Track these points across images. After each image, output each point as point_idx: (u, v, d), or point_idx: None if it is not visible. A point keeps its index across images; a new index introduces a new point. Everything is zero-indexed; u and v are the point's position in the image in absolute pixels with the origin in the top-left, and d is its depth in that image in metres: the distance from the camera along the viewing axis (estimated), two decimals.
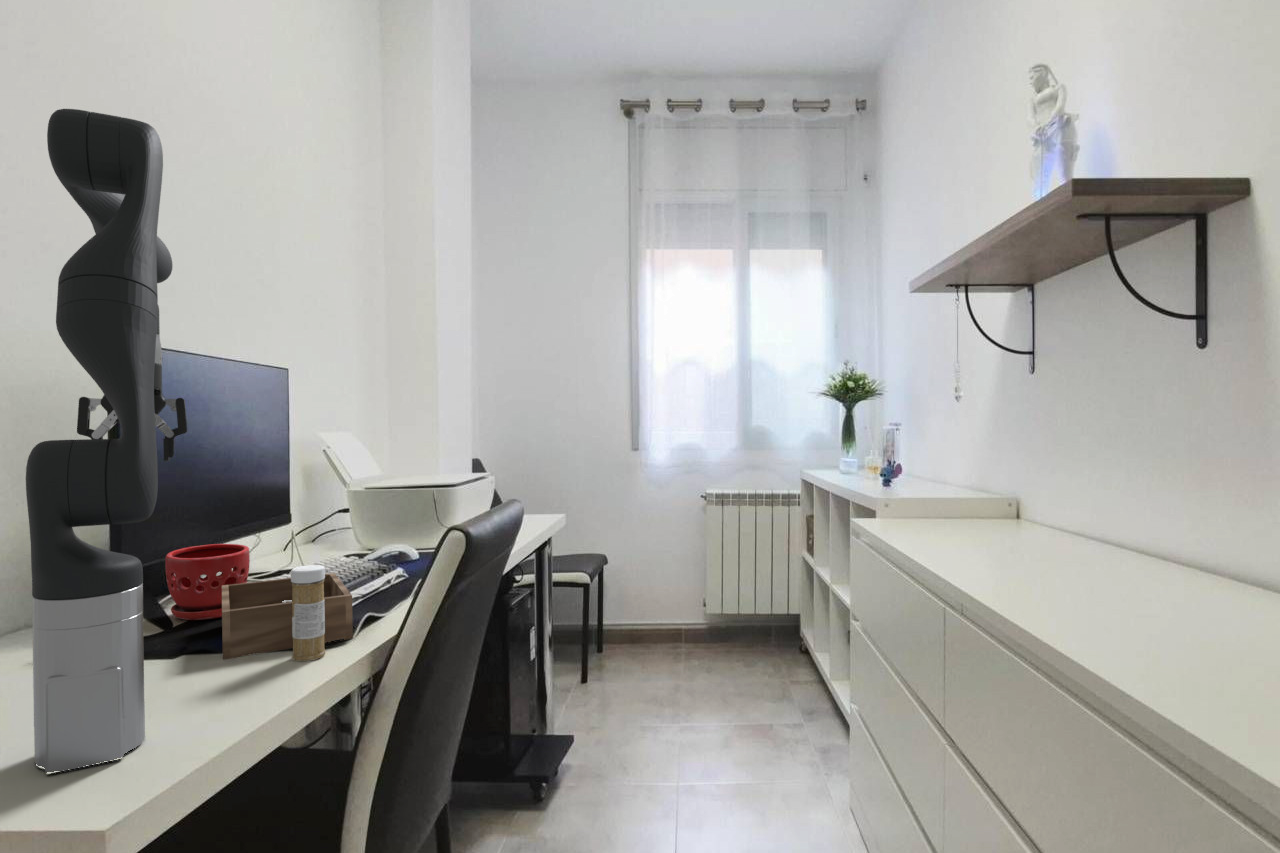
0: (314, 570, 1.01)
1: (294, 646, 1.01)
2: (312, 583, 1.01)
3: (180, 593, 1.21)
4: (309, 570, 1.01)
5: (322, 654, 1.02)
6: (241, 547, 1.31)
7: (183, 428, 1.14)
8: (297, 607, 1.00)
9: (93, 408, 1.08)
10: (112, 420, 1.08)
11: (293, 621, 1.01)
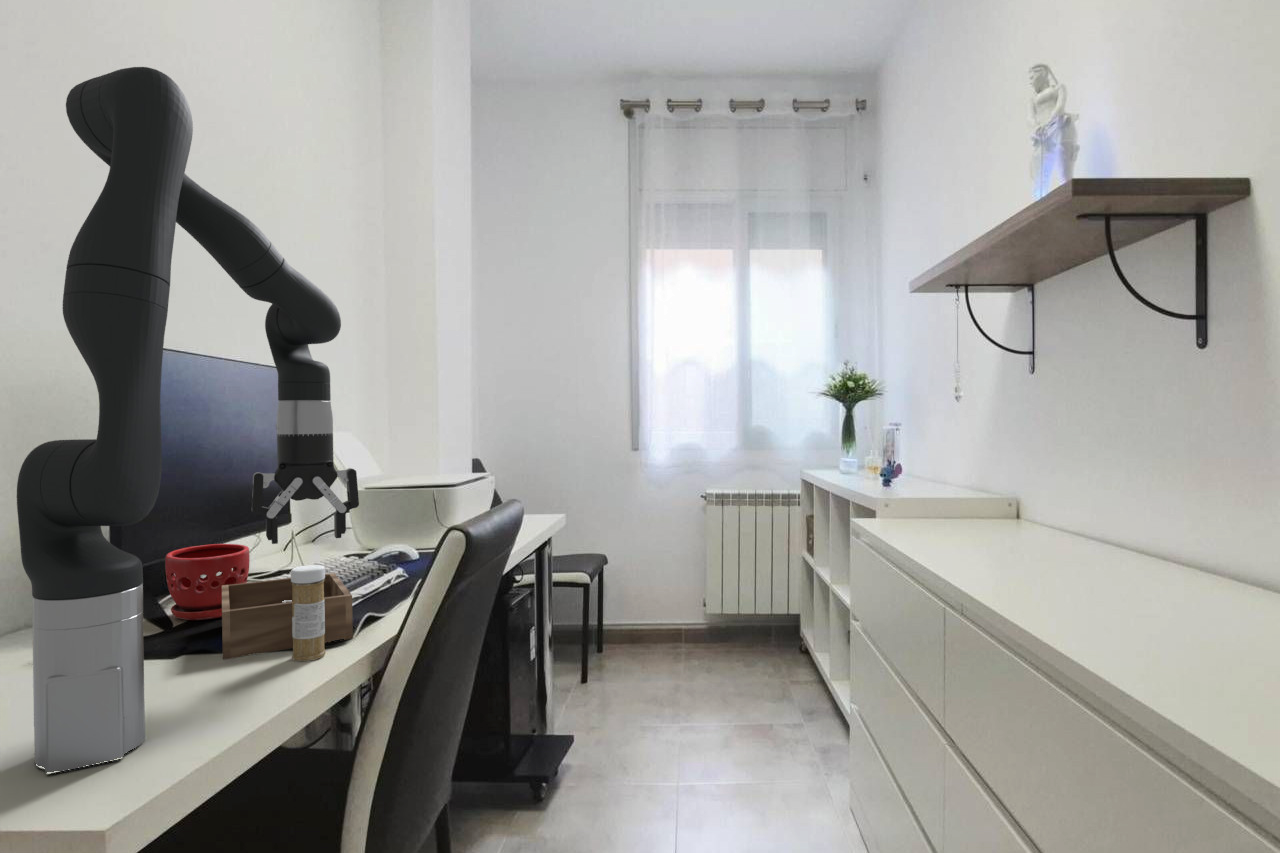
0: (314, 570, 1.01)
1: (294, 646, 1.01)
2: (312, 583, 1.01)
3: (180, 593, 1.21)
4: (309, 570, 1.01)
5: (322, 654, 1.02)
6: (241, 547, 1.31)
7: (355, 502, 1.05)
8: (297, 607, 1.00)
9: (267, 484, 0.99)
10: (287, 497, 1.00)
11: (293, 621, 1.01)
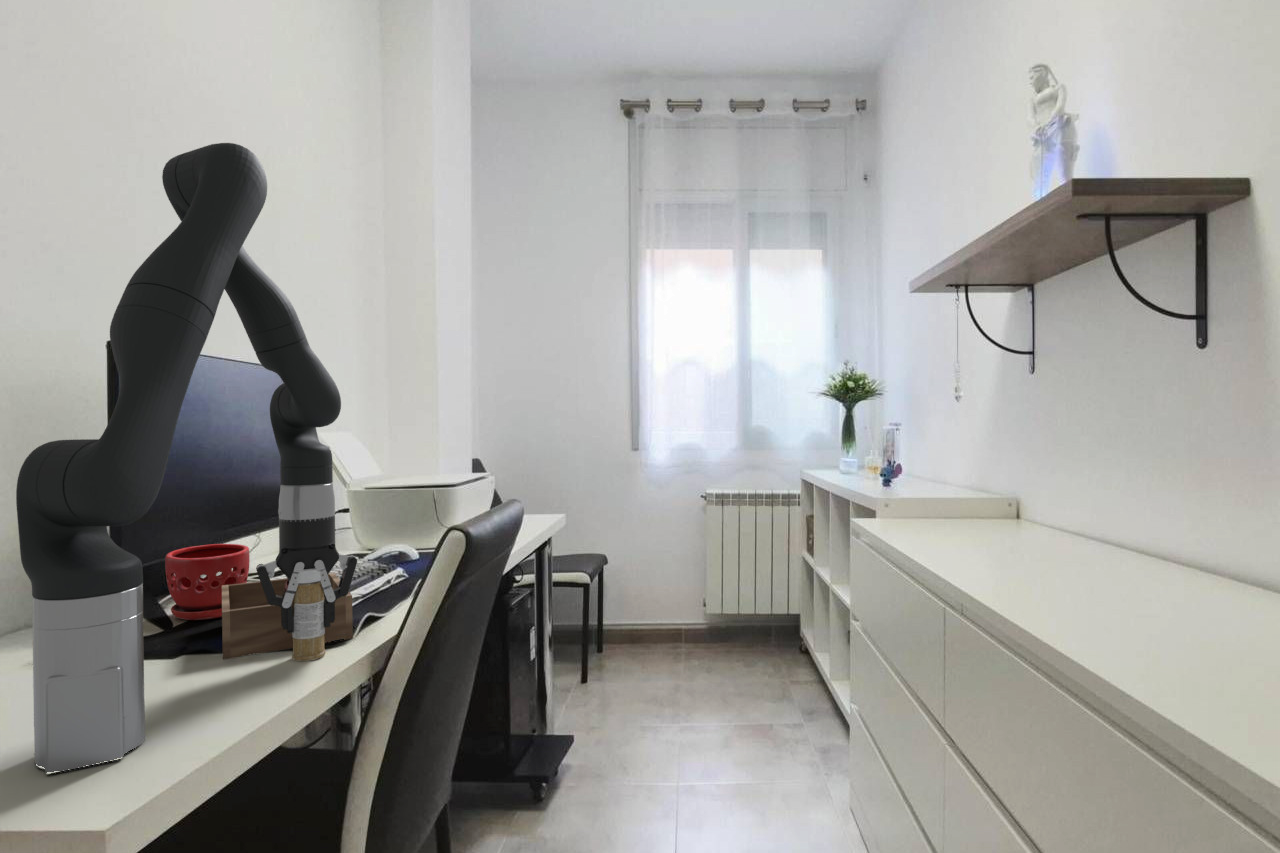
0: (314, 570, 1.01)
1: (294, 646, 1.01)
2: (312, 583, 1.01)
3: (180, 593, 1.21)
4: (309, 570, 1.01)
5: (322, 654, 1.02)
6: (241, 547, 1.31)
7: (345, 590, 1.04)
8: (296, 607, 1.00)
9: (272, 574, 1.00)
10: (295, 583, 1.00)
11: (293, 621, 1.01)
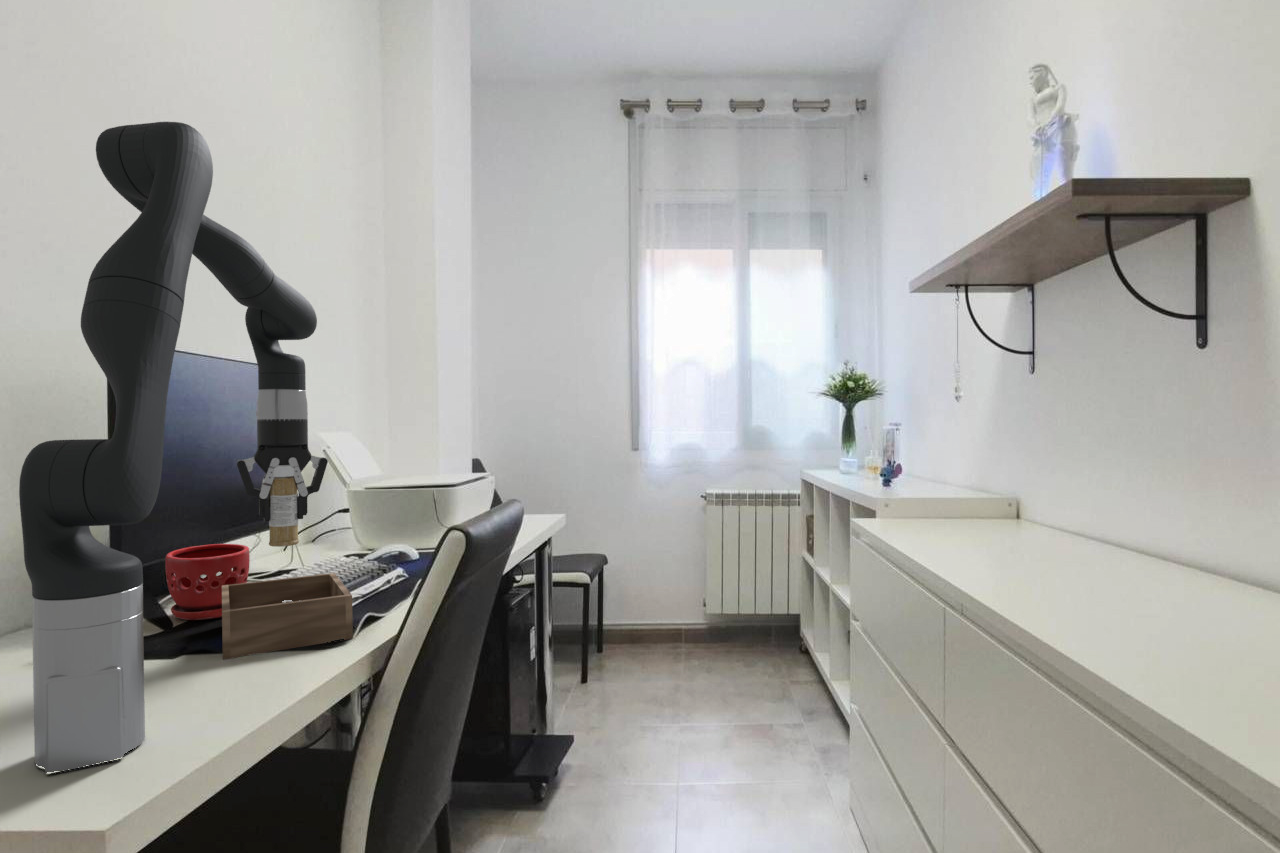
0: (288, 466, 1.13)
1: (270, 533, 1.13)
2: (286, 477, 1.13)
3: (180, 593, 1.21)
4: (283, 466, 1.13)
5: (295, 542, 1.15)
6: (241, 547, 1.31)
7: (317, 487, 1.16)
8: (272, 498, 1.13)
9: (251, 468, 1.12)
10: (271, 477, 1.12)
11: (269, 511, 1.13)
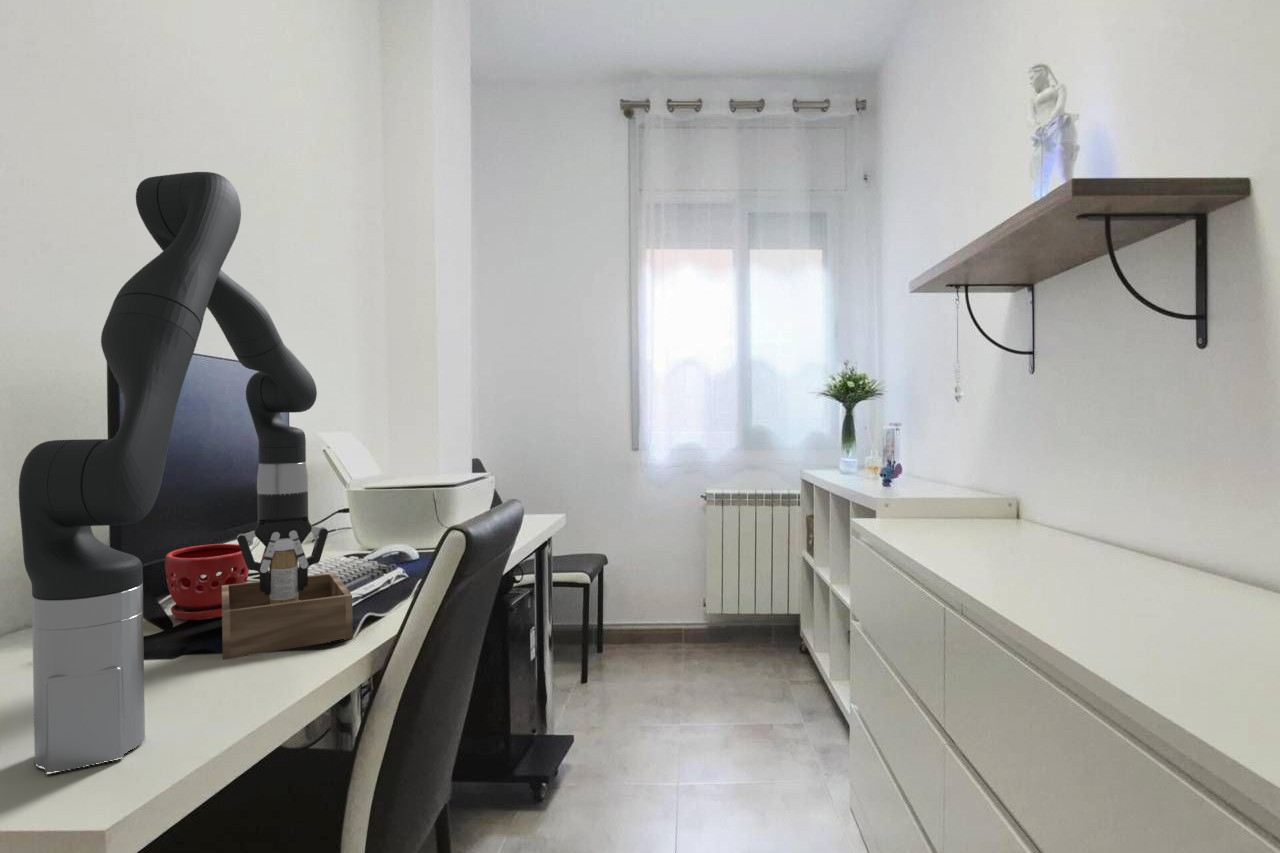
0: (288, 539, 1.14)
1: None
2: (287, 551, 1.13)
3: (180, 593, 1.21)
4: (284, 539, 1.13)
5: None
6: None
7: (317, 558, 1.17)
8: (273, 572, 1.13)
9: (251, 542, 1.12)
10: (272, 551, 1.13)
11: (270, 584, 1.13)
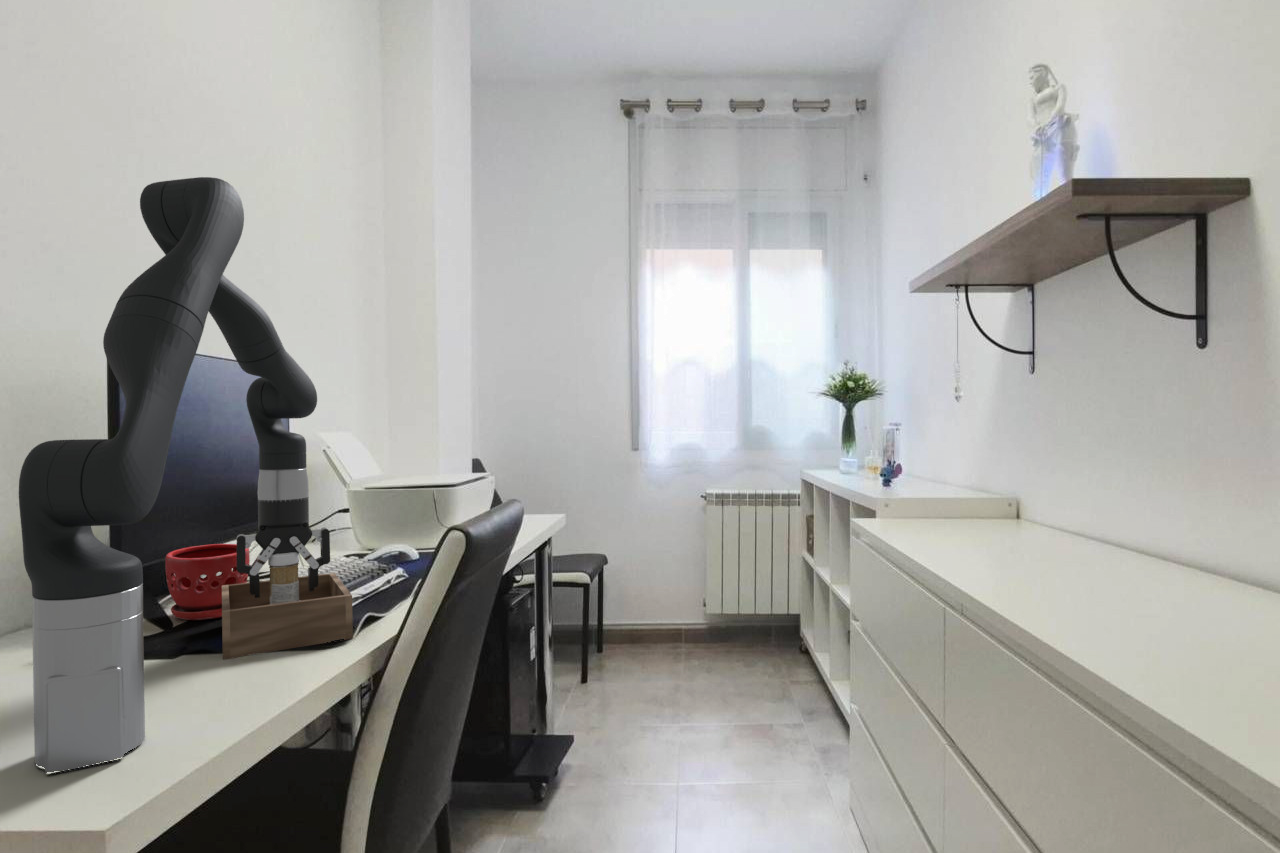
0: (289, 554, 1.14)
1: None
2: (287, 566, 1.13)
3: (180, 593, 1.21)
4: (284, 554, 1.13)
5: None
6: None
7: (327, 558, 1.17)
8: (273, 587, 1.13)
9: (249, 545, 1.12)
10: (267, 556, 1.12)
11: (270, 600, 1.13)
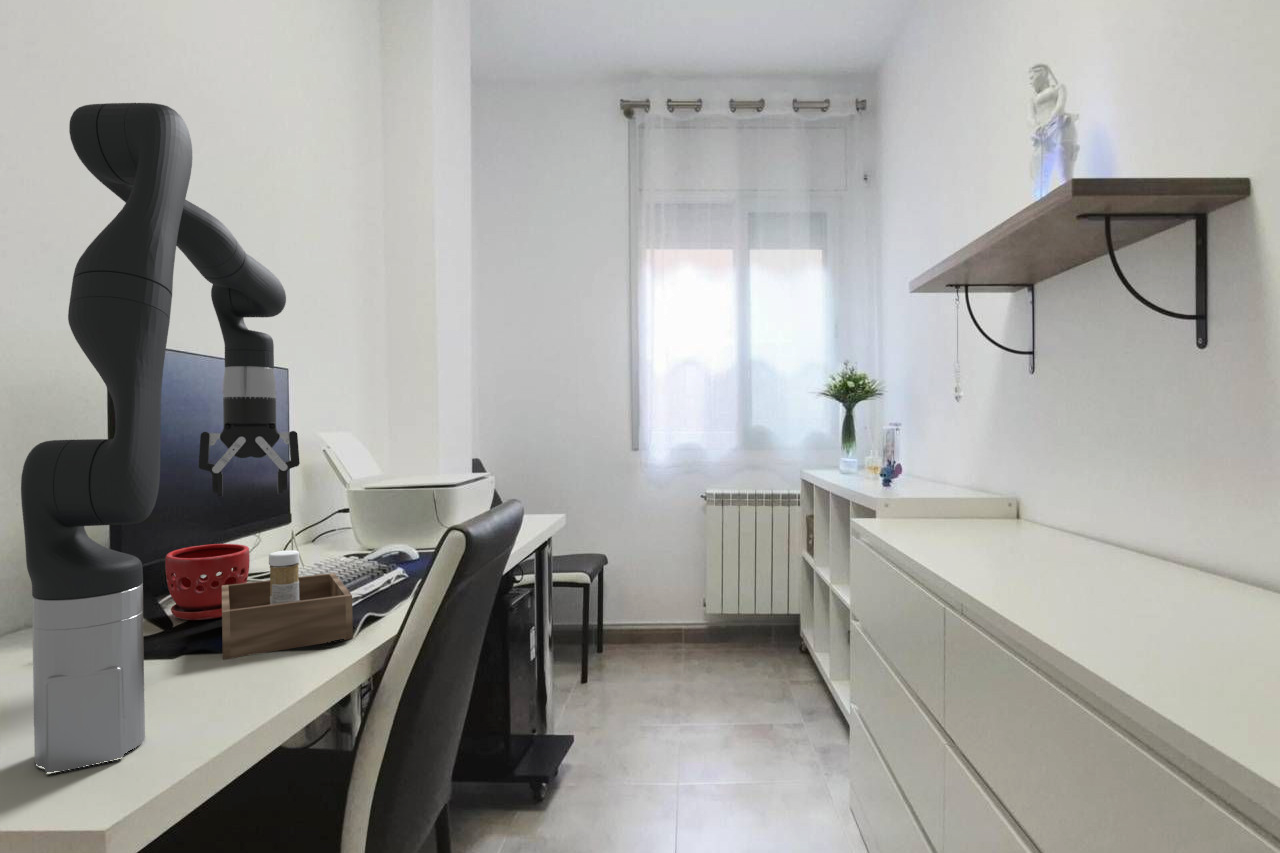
0: (289, 554, 1.14)
1: None
2: (287, 566, 1.13)
3: (180, 593, 1.21)
4: (285, 554, 1.13)
5: None
6: (241, 547, 1.31)
7: (296, 461, 1.15)
8: (274, 587, 1.13)
9: (213, 443, 1.10)
10: (231, 454, 1.10)
11: (270, 600, 1.13)
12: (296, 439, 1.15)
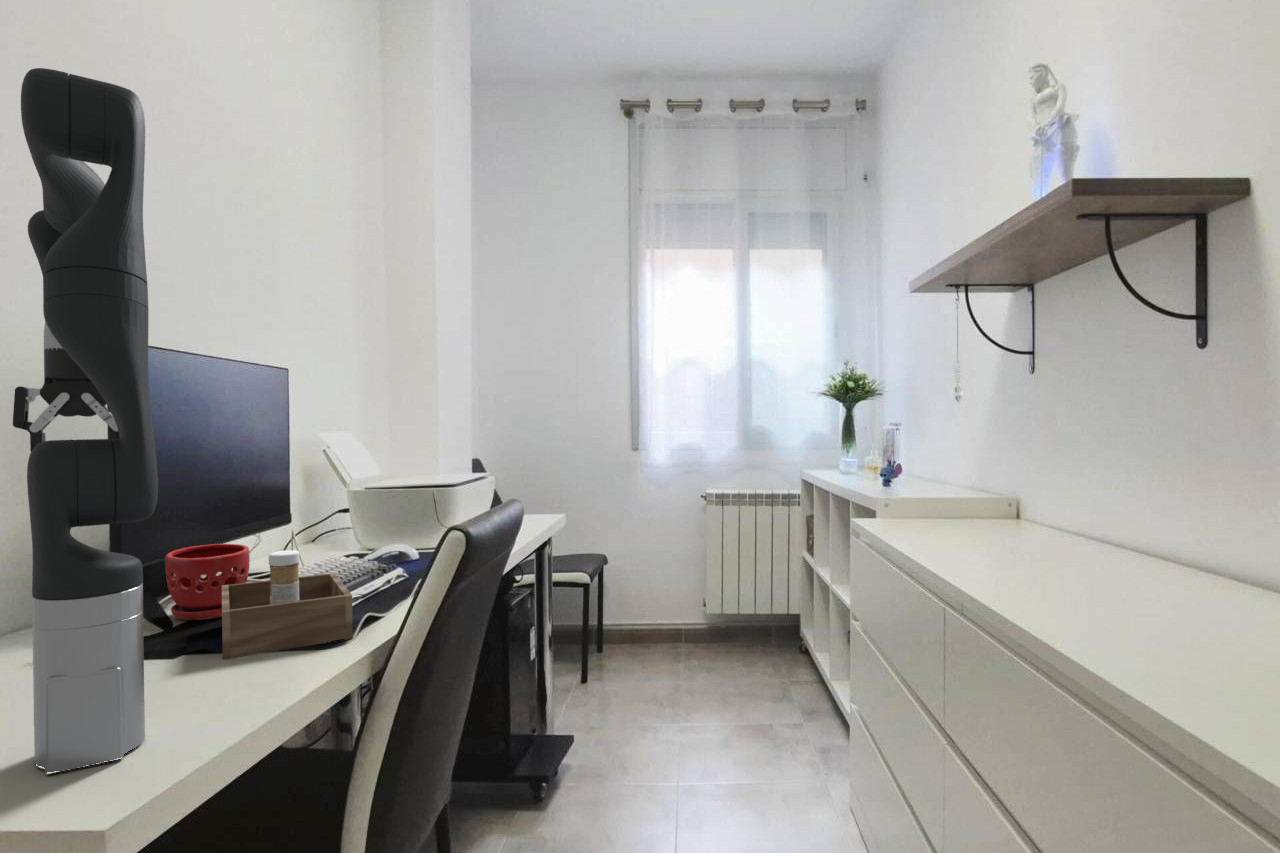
0: (289, 554, 1.14)
1: None
2: (287, 566, 1.13)
3: (180, 593, 1.21)
4: (285, 554, 1.13)
5: None
6: (241, 547, 1.31)
7: None
8: (274, 587, 1.13)
9: (31, 399, 0.99)
10: (52, 412, 1.00)
11: (270, 600, 1.13)
12: None
